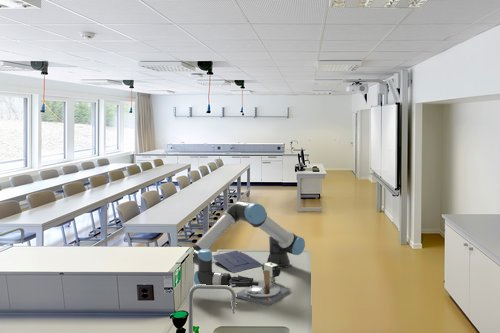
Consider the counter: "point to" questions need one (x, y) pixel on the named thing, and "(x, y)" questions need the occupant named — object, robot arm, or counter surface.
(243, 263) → the dark blue flat panel
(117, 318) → the counter surface
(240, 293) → the dial plate
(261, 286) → the robot arm
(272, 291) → the peg stand
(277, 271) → the pneumatic valve
